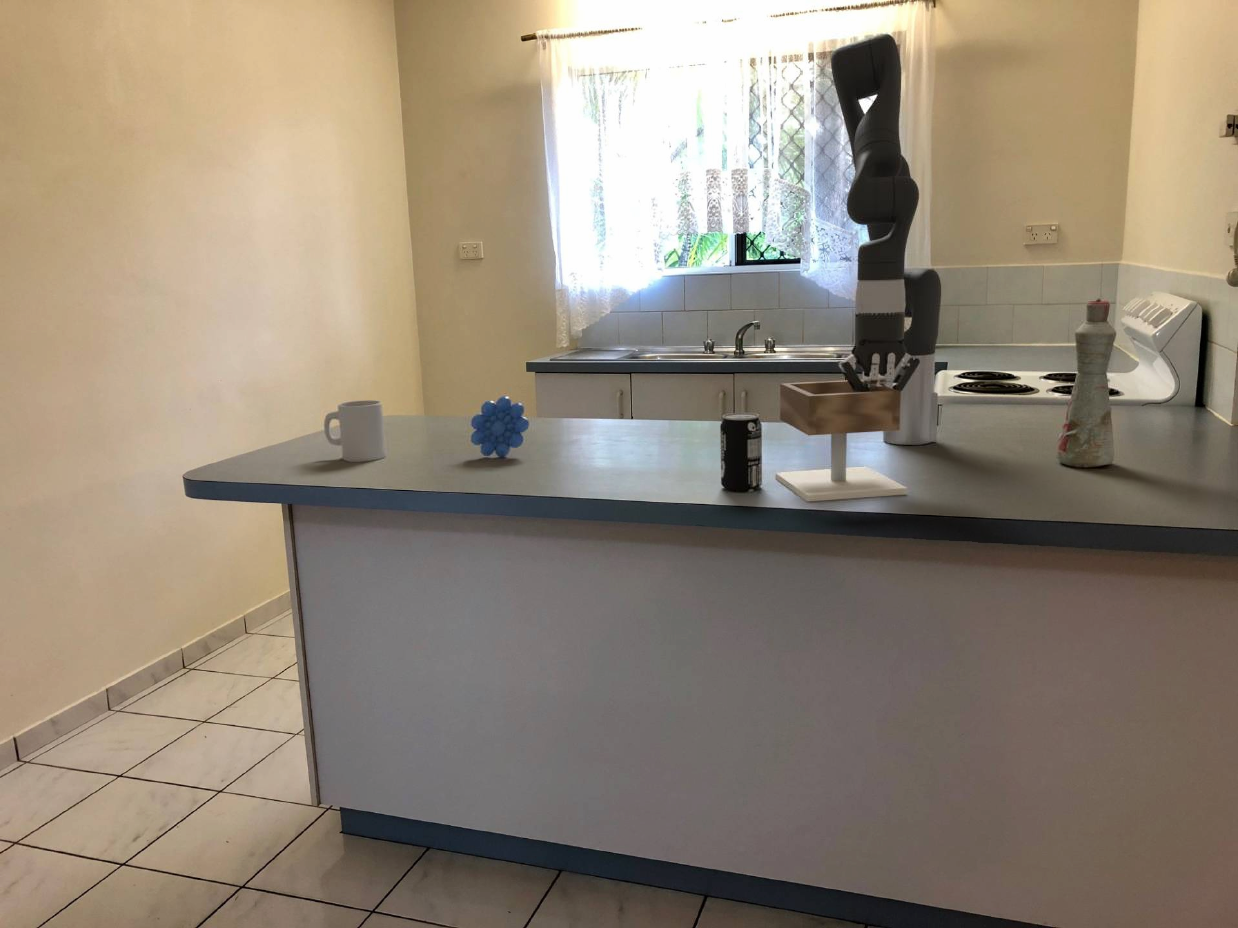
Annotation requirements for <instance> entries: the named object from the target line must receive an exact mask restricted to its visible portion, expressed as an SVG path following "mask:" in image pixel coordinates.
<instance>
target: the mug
mask: <svg viewBox="0 0 1238 928" xmlns="http://www.w3.org/2000/svg"><path fill="white" fill-rule="evenodd" d="M383 414H384V413H383V403H382V401H380V400H356V401H353V400H352V401H347V402H341V403H339V404H338V405H337V410H336V411H331V412H329V413H327V414H326V415H325V417H324V422H323V423H324V424H323V426H324V427H323V428H324V429H323V430H324V435H325V438H326V440H327V442H328V443H329V444H330V445H333V446H337V447H338V446H341V453H342V454H341V455H342V459H343V461H345V462H351V463H360V462H361V463H363V462H372V461H377V460H381V459H384V458H385V457H387V448H386V447H387V445H386V435H385V426H384V416H383ZM332 420H337V421H338V422H339V423H338V424H339V431H340V437H335V436H333V435H332V432H331V427H330V426H331V425H330V424H331V421H332Z"/></svg>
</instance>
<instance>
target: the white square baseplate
mask: <svg viewBox="0 0 1238 928" xmlns="http://www.w3.org/2000/svg"><path fill="white" fill-rule="evenodd" d="M847 434H848V433H843V434H830V468H827V469H825V468H823V469H811V470H796V471H794V470H793V471H783V472H782V471H781V472H775V473H774V476H775V477H774V478H775V480H777V481H778V482H780V483H781V484H782V485H784V486H785V487H786V488H788V489H789V490H790V491H792V492H793V493H794V494H796V495H797V496H799V497H800V498H801V499H803V500H804V501H806V502H819V501H835V500H847V499H859V498H873V497H875V498H876V497H887V496H900V495H901V496H903V495H907V494H908V487H906V486H904V485H902V484H900V483H898V482H897V481H894V480H893V479H891V478H889V477H887V476H885V475H883V474H881V473H879V472H877V471H876V470H874V469H872V468H870V467H868V466H855V467H847V444H848V443H847V442H848V441H847V438H848V435H847Z"/></svg>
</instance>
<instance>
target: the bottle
mask: <svg viewBox="0 0 1238 928" xmlns="http://www.w3.org/2000/svg"><path fill="white" fill-rule="evenodd" d="M1085 305H1086V313H1085V314H1086V316H1085V317H1086V320H1085V321H1084V323H1082V324H1081V325H1080V326H1079V327H1078V328H1077V329H1076V330H1075V332H1074V338H1075V351H1076V354H1075V355H1076V370H1077V372H1076V375H1075V381H1074V383H1073V386H1072V390H1071V395H1070V398H1069V399H1070V400H1069V402H1068V406H1067V408H1066V409H1067V410H1066V413H1065V418H1064V421H1063V424H1062V427H1061V433H1060V434H1059V437H1058V447H1057V450H1056V458H1057V460H1058V462H1059V463H1060V464H1063V465H1065V466H1068V467H1069V466H1071V467H1075V468H1095V467H1101V466H1108V465H1111V464H1112V463H1113V462H1114V459H1115V446H1114V445H1115V443H1114V432H1113V421H1112V412H1113V411H1112V410H1113V409H1112V406H1111V402H1110V392H1109V381H1108V380H1109V379H1108V373H1107V371H1108V369H1109V365H1110V364H1109V363H1110V361H1111V358H1112V357H1111V356H1112V352H1113V348H1114V343H1115V341H1116V337H1117V330H1116V329H1115V328H1114V327H1113V326H1112V325H1111V324H1110V322H1109V321H1108V317H1109V314H1110V308H1111V307H1110V306H1111V304H1110V302H1109V301H1108V300H1104V301H1103V300H1101V298H1096V299H1095V300H1088V301H1087V303H1086V304H1085Z"/></svg>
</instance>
